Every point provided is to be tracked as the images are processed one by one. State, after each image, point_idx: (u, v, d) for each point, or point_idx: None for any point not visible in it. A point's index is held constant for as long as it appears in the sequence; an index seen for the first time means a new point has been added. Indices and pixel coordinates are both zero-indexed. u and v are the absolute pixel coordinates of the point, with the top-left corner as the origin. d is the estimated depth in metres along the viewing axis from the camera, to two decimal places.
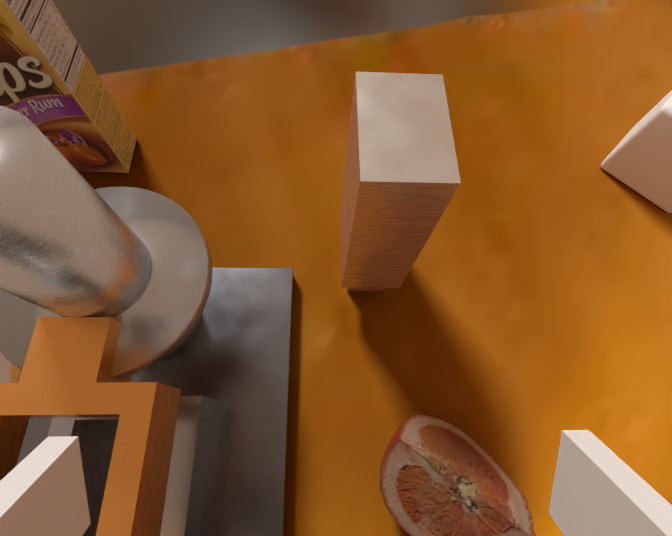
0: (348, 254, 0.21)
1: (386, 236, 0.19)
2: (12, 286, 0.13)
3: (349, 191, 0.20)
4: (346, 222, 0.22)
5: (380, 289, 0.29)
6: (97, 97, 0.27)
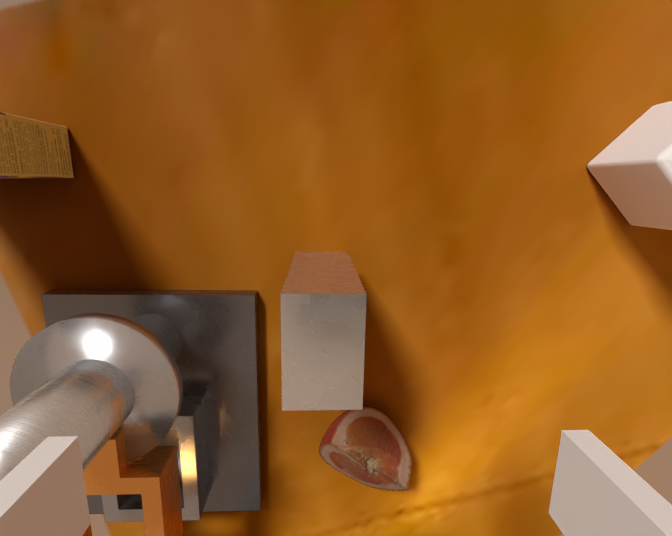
0: None
1: None
2: None
3: None
4: None
5: None
6: (10, 141, 0.24)
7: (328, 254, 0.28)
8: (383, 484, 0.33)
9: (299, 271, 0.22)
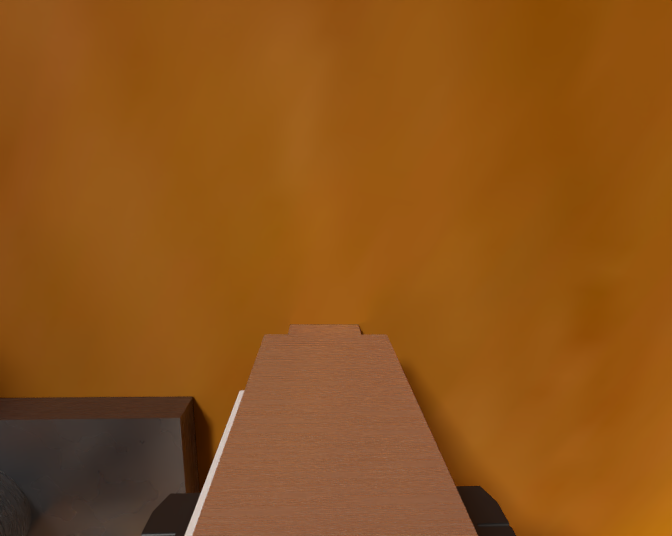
0: None
1: None
2: None
3: None
4: None
5: None
6: None
7: (343, 351, 0.11)
8: None
9: (238, 534, 0.05)
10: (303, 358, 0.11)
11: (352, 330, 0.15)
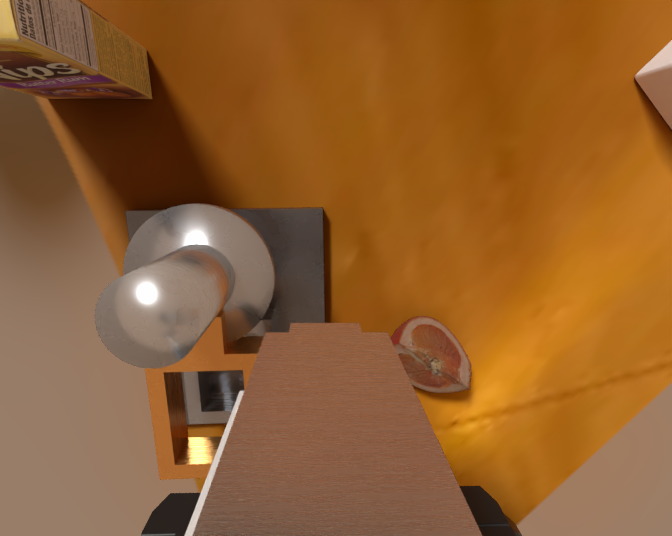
0: None
1: None
2: None
3: None
4: None
5: None
6: (112, 47, 0.26)
7: (344, 349, 0.11)
8: (445, 386, 0.35)
9: (240, 529, 0.05)
10: (304, 356, 0.11)
11: (353, 328, 0.15)
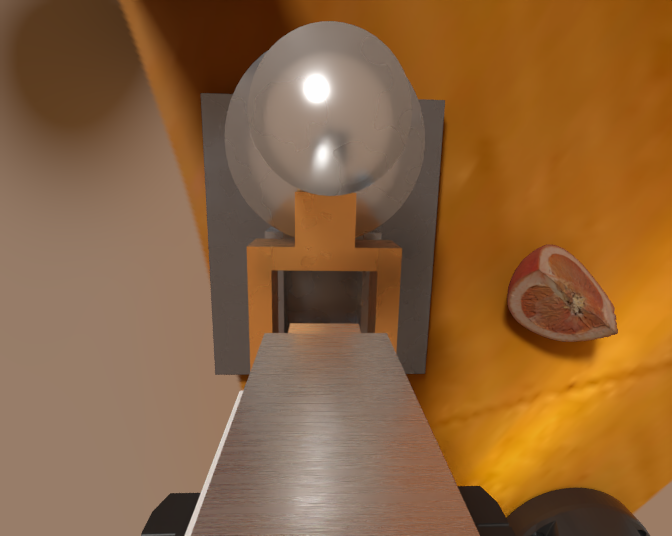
0: None
1: None
2: None
3: None
4: None
5: None
6: None
7: (343, 350, 0.11)
8: (582, 331, 0.29)
9: (238, 531, 0.05)
10: (303, 356, 0.11)
11: (352, 328, 0.15)
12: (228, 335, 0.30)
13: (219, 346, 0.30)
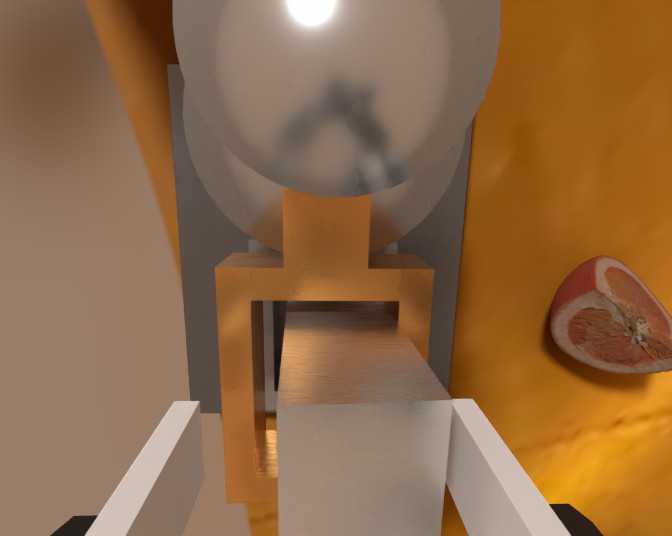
0: None
1: None
2: None
3: None
4: None
5: None
6: None
7: None
8: (644, 363, 0.23)
9: (303, 326, 0.13)
10: None
11: None
12: (206, 366, 0.24)
13: (195, 379, 0.24)
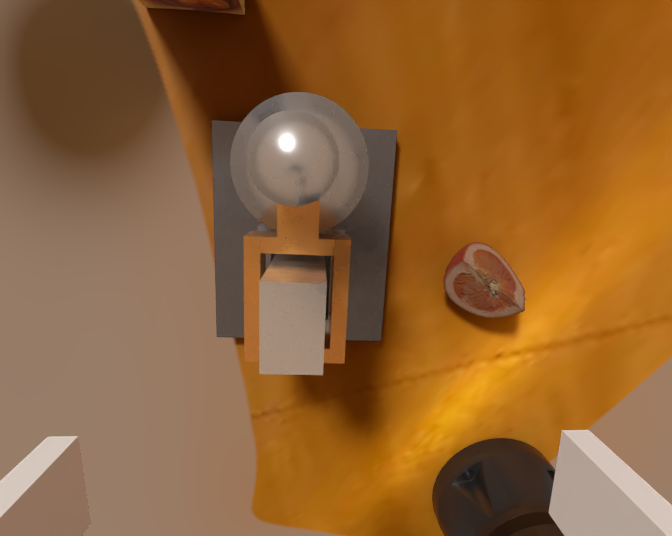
0: None
1: None
2: None
3: None
4: None
5: None
6: None
7: None
8: (499, 309, 0.37)
9: (278, 264, 0.27)
10: None
11: None
12: (227, 306, 0.38)
13: (220, 314, 0.38)
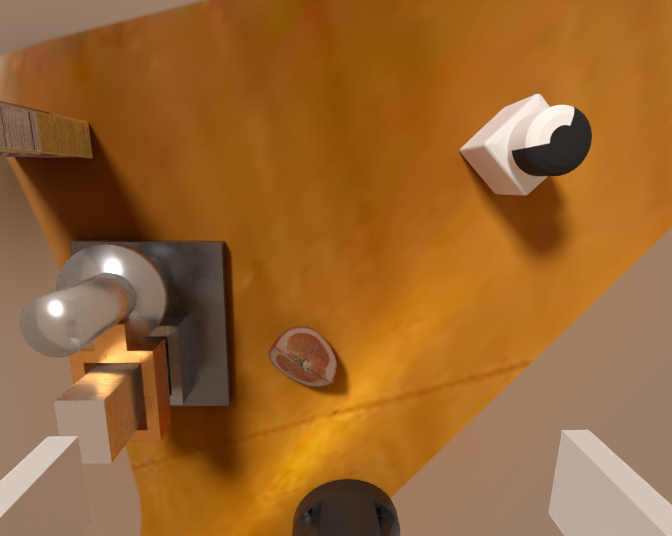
0: None
1: None
2: None
3: None
4: None
5: None
6: (54, 131, 0.36)
7: None
8: (316, 381, 0.46)
9: (95, 372, 0.36)
10: None
11: None
12: None
13: None
